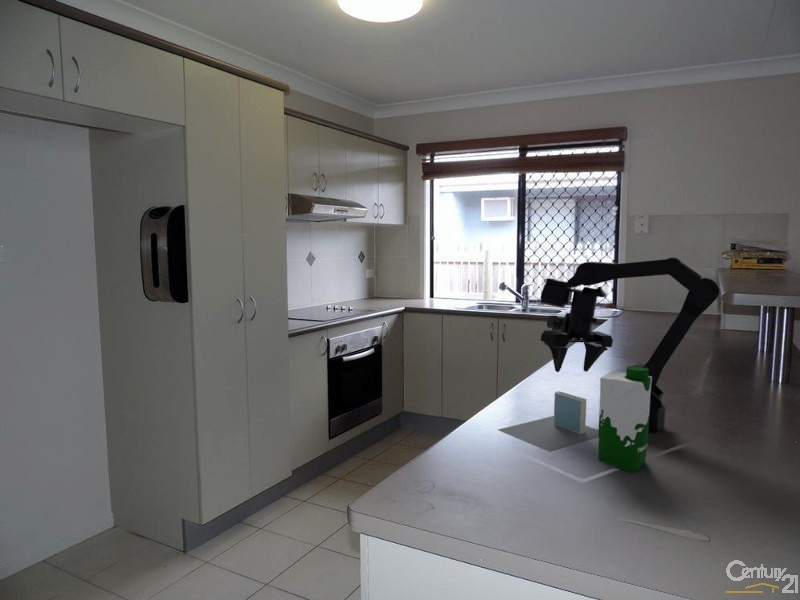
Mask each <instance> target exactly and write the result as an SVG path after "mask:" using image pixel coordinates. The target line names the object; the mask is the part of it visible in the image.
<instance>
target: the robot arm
mask: <svg viewBox="0 0 800 600" xmlns="http://www.w3.org/2000/svg"><path fill="white" fill-rule="evenodd" d="M574 272H575V274H574V275H573V276H572V277H571V278H569V279H568V280H567V281H564V280H559V279H558V280H557V279H555V278H550V277H547V278H546V279H545V283H544V286H543V288H542V290H541V293H540V303H541V304H542V305H545V306H546V305H547V306H552V307H556V308H557V307H558V308H561V309H564V308H565V307H566V305H567V306H569V305H570V310H569V312H566V313H565V315H564V318H559V317H558V315H547V316H548V317H547V319H546V327H547V328H548V329H551V330H547V329H545V330H543V332H542V333H540V334H541V335H540V341H541V342H543V343H544V345H545V346H547V347H548V348H549V349H550V353H551V356H552V360H553V368H554V371H555V372H557V373H560V371H561V369H562V367H563V363H564V361H565V358H566V356H567V352H568V349H569V348H568V347H567V346H568V345H569V343H583V346H584V348H585V355H584V360H583V361H584V362H583V371H584V372H585V373H587V372H588V371H589V370H590V369H591V367H592V366H593V365H594V364H595V363H596V362H597V361H598V359H599V358H600V357H601V356H602V355H603V353H605V351H608V349H609V348H612V347H613V343H614V340H613V337H612V335H610V334H607V333H604V332H601V331H598V330H597V331H594V330H593V331H592V327H593V323H597V321H598V318H597V317H595V311H596V307H597V301H598V298H605V297H607V293H606V292H605V291H604V290H603V288H602V286H598V287H597V288H594V287H590V286H594V285H598V284H602V283H606V282H610V281H613V280H617V279H618V280H619V279H629V278H631V279H632V278H640V277H641V278H643V277H652V276H653V277H654V276H665V275H666V276H667V275H669V276H670V277H672V278H673V279H674V280H675V281H677V283H679V285H681V286H683V287H684V288H685V289H686V290H688V292H687V294H686V298H685V300H684V302H683V305H682V307H681V309H680V311H679V313H678V314H677V315H676V317H675V319H674V320H673V321H672V323H671V324H670V326H669V328H668V329H667V331H666V333H665V334H664V336H663V337H662V339H660V342H659V343H658V345H657V347H656V348H655V349H654V351H653V352H652V354H651V356H650V357H649V358H648V359H647V360H645V362H644V363H643V362H642V361H640V360H638V361H637V362H636V365H635V366H640V367H645V368H648V369H649V371H648V376H651V377H652V382H651V394H650V410H649V428H648V434H657V433H660V432H662V431H666V430H668V429H669V428H668V427H666V426H665V425H666V424H665V422H666V421H665V420H666V409H667V408H666V406H665V405H663V401H664V398H665V395H666V394H665V392H664V391H663V390H662V389H661V388H660V387H659V386H658V385H657V383H658V381H659V379H660V376H661V374H662V371H663V369H664V367H665V366H666V365H667V363H668V362H669V360H670V358H671V357H672V356H673V354H674V352H675V351H676V349H677V348H678V347H679V345H680V344H681V343H682V341H683V339H684V337H685V336H686V335H687V333H688V331H690V328H691V327H692V326H693V324H694V323H695V321H696V320H697V319H698V318H699V317H700V316H701V315H702V313H704V312H705V311H707V309H708V308H709V307H710V306H712V304H713V303H714V302H715V301H716V300H717V299H718V297H719V294H720V285H719V283H718V282H717V281H716V280H715V279H714V278H712V277H709V276H701V275H700V274H699V273H698V272H697V271H695V270H694V269H692V268H691V267H689V266H688V265H686V264H685V263H684V262H683V261H682V260H681V259H680V258H678V257H676V256H675V257H674V256H672V257H669V258H664V259H663V258H662V259H654V260H653V259H651V260H640V261H629V262H620V263H618V262H617V263H613V262H603V261H587V262H582V263H580V264H579V265H578V266H577V267H576V269H575V271H574ZM580 286H584V287H583V288H582V289H577V288H576V287H580ZM586 286H589V287H586Z"/></svg>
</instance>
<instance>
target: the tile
mask: <svg viewBox="0 0 800 600" xmlns="http://www.w3.org/2000/svg"><path fill="white" fill-rule="evenodd" d="M553 407H554V408H553V416H554V425H557V426H560V427H562V428H565V429H568V430H571V431H573V432H576V433H579V434H583V433H585V426H586V420H587V417H586V416H587V399H586V398H583V397H580V396H578V395H577V396H576V395H573V394H570V393H566V392H563V391H561V390H559V391H555V392H554V405H553Z"/></svg>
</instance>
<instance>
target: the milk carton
mask: <svg viewBox="0 0 800 600" xmlns="http://www.w3.org/2000/svg"><path fill="white" fill-rule="evenodd" d="M648 371H649V369H648V368H645V367H640V366H636V365H629V366H627V367H626V371H625V372H622V371H614V370H612V371H610V372H608V373H606V374H605V375H602V376H601V377H599V380H600V381H599V382H600V383H599V385H600V386H599V387H600V388H599V392H600V393H599V412H598V430H599V432H598V438H597V440H598V441H597V444H598V446H597V447H598V448H597V449H598V454H597V455H598V462H599V463H600V462H601V463H604V464H609V465H612V466H615V469H618V468H619V469H618V470H622V471H626V470H627V471H626V472H630V471H631V472H630V473H634V472H635V473H636V472H637V471H638V470H639V469H640V468H641V467H642V466H643V465H644V464H645V462H646V458H647V451H648V442H649V432H648V428H649V410H650V394H651V382H652V377H651V376H648Z"/></svg>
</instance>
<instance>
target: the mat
mask: <svg viewBox="0 0 800 600" xmlns="http://www.w3.org/2000/svg"><path fill="white" fill-rule="evenodd" d="M497 430H498V431H499V432H502V433H504V434H506V435H509V436H512V437H514V438H516V439H519V440H521V441H523V442H526V443H527V444H531V445H532V446H536V447H537V448H539V449H542V450H544V451H546V452H548V453H549V452H550V453H551V452H553V451H556V450H560V449H563V448H567V447H571V446H573V445H578V444H580V443H584V442H588V441H591V440H595V439H598V432H599V429H596V428H594V427H590V426H588V425H585V433H583V434H579V433H576V432H573V431H571V430H568V429H565V428H562V427H560V426H557V425H554V415H552V416H547V417H544V418H540V419H536V420H532V421H527V422H523V423H519V424H515V425H510V426H507V427H503V428H499V429H497Z"/></svg>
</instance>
